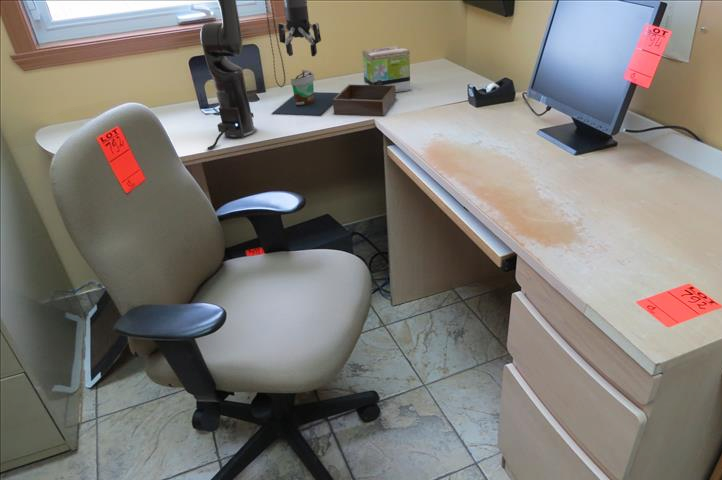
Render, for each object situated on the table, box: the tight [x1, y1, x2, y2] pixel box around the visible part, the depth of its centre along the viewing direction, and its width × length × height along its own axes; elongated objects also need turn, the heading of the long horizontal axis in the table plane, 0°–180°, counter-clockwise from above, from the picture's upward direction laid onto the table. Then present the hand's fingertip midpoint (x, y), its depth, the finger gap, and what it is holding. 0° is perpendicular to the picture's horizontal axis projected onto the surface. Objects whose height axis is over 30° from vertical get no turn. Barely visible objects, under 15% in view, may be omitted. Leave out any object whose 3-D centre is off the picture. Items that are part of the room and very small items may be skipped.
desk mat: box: [271, 91, 340, 117], centre depth 202 cm, size 24×18×1 cm
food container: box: [290, 69, 315, 107], centre depth 199 cm, size 12×6×10 cm, turn 169°
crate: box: [332, 83, 397, 117], centre depth 195 cm, size 18×18×5 cm
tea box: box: [362, 45, 411, 93], centre depth 206 cm, size 15×10×15 cm, turn 114°
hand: (302, 55), depth 192 cm, fingers open, 8 cm apart
